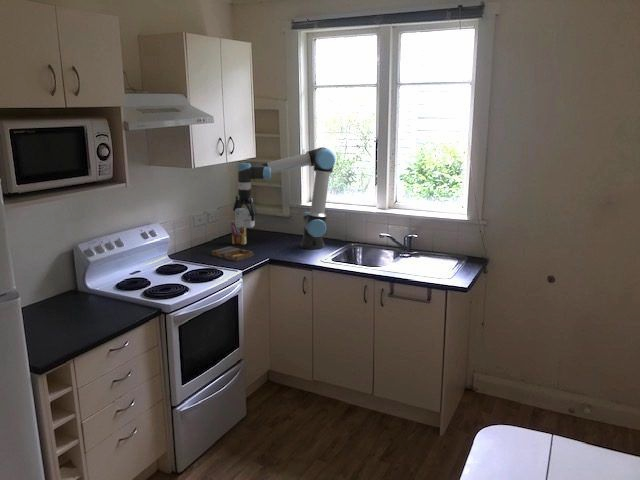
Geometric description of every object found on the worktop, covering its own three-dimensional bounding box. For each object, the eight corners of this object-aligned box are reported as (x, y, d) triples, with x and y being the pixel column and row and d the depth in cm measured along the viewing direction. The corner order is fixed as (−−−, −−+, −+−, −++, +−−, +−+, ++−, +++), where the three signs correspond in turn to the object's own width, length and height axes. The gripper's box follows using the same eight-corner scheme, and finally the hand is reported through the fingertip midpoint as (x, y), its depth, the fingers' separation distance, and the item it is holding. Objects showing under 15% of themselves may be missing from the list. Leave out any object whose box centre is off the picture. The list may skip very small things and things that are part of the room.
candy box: (246, 243, 371) (246, 220, 367) (244, 244, 367) (243, 222, 363) (234, 242, 373) (233, 220, 369) (231, 244, 369) (231, 221, 365)
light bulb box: (254, 225, 341) (254, 208, 338) (252, 228, 334) (252, 210, 332) (237, 224, 342) (237, 207, 339) (234, 227, 336) (234, 209, 333)
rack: (255, 256, 340) (255, 252, 339) (235, 261, 329) (235, 257, 328) (230, 249, 355) (230, 245, 354) (211, 254, 343) (211, 250, 343)
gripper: (226, 187, 338) (227, 222, 343) (253, 192, 322) (253, 228, 327) (236, 186, 343) (236, 220, 348) (262, 190, 327) (262, 226, 333)
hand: (244, 224), depth 338 cm, fingers closed on light bulb box, 12 cm apart
